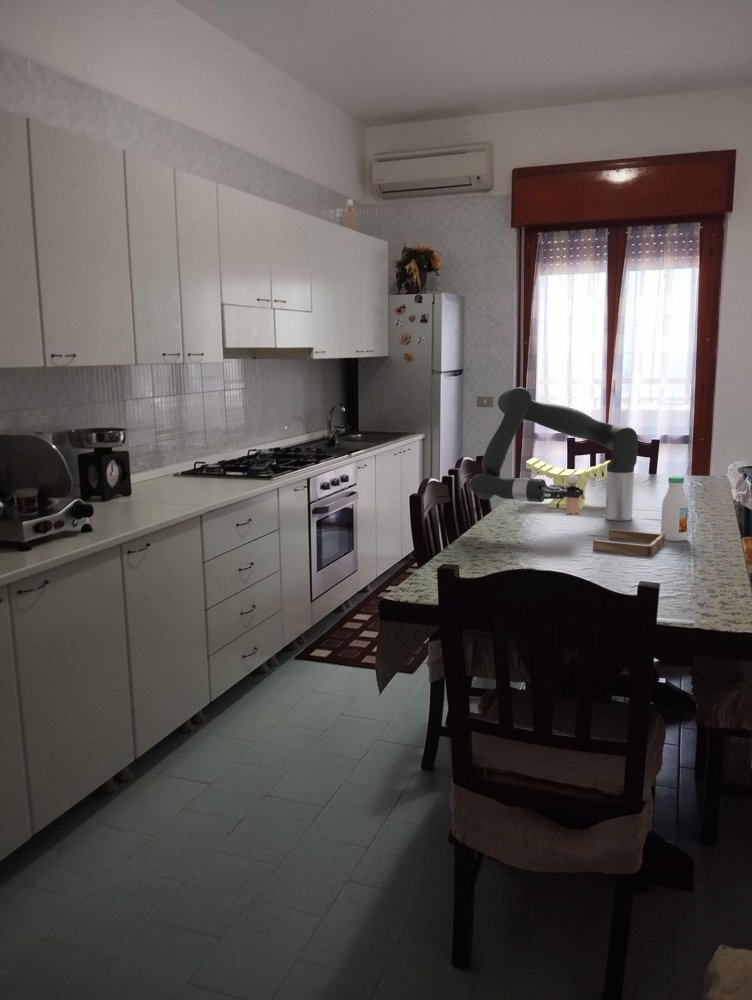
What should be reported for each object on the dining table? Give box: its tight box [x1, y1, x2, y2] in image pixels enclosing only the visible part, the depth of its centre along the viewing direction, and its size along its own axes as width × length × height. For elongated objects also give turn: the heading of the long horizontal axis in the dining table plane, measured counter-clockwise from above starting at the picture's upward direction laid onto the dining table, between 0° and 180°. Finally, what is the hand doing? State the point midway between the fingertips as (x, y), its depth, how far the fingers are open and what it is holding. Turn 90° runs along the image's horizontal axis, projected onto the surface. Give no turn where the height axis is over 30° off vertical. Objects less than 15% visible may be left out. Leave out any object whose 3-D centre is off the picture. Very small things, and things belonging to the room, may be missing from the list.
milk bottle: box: [660, 475, 689, 542], centre depth 252 cm, size 8×8×20 cm
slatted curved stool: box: [525, 457, 611, 510], centre depth 313 cm, size 30×16×18 cm, turn 66°
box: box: [592, 529, 666, 557], centre depth 244 cm, size 18×17×3 cm
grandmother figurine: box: [564, 475, 586, 517], centre depth 252 cm, size 8×4×13 cm, turn 88°
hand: (581, 493), depth 250 cm, fingers closed on grandmother figurine, 3 cm apart
